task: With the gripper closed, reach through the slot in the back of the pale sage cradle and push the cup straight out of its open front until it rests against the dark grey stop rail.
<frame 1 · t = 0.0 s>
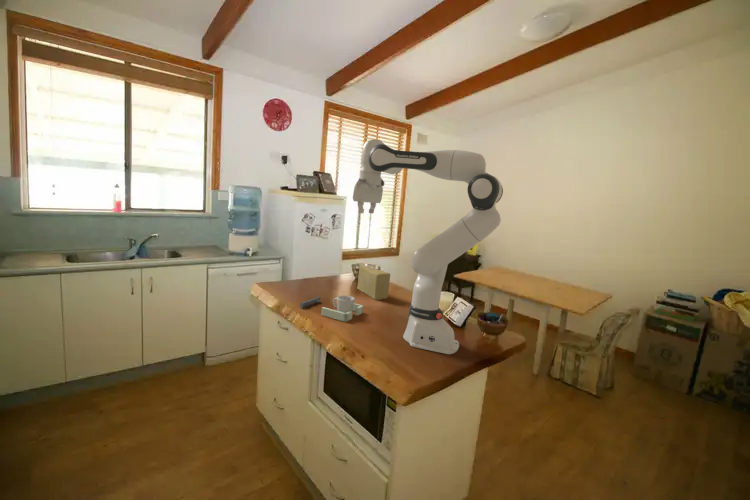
hand: (366, 213, 147), 48 cm above the countertop, fingers open, 8 cm apart
cradle: (341, 313, 162), on the countertop
khaki rectangular box: (369, 294, 199), on the countertop
stop rail: (310, 304, 170), on the countertop
cup: (341, 314, 162), on the countertop
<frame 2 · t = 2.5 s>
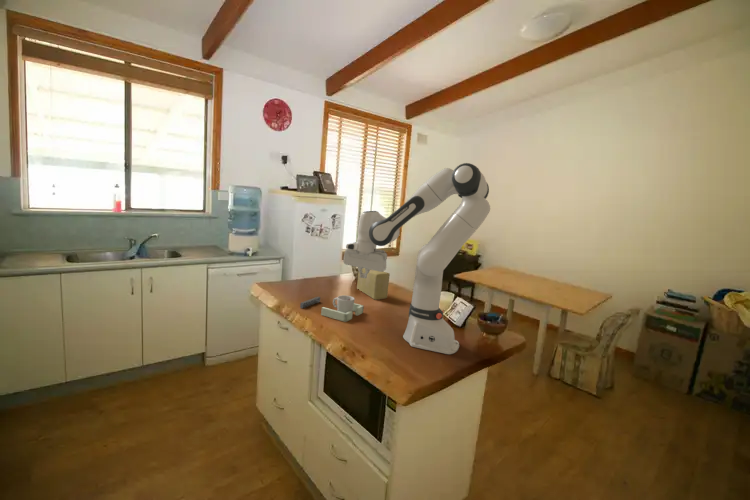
hand: (363, 277, 155), 19 cm above the countertop, fingers closed
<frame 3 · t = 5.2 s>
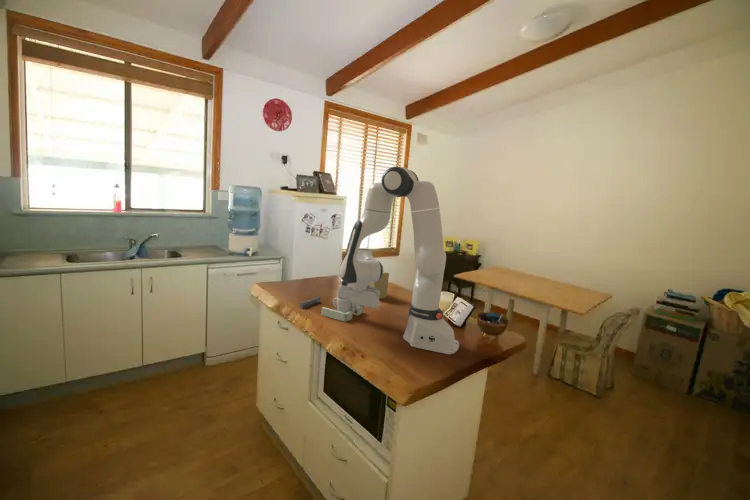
hand: (356, 313, 159), 2 cm above the countertop, fingers closed
cup: (341, 314, 162), on the countertop, touching gripper
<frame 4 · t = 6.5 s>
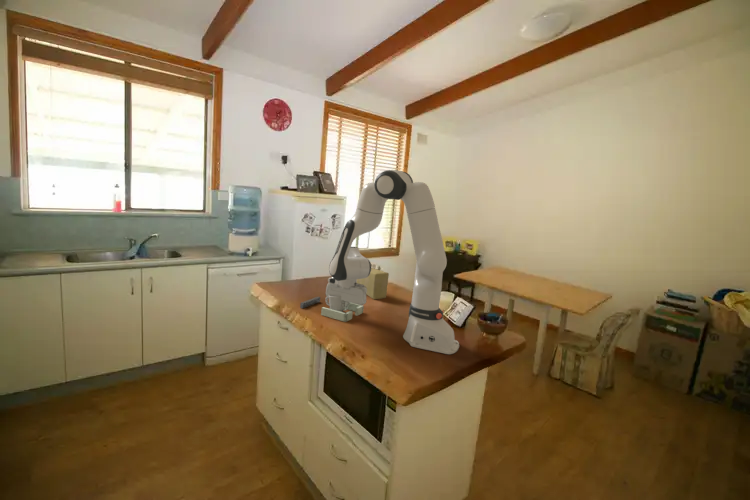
hand: (344, 310, 161), 2 cm above the countertop, fingers closed, pressing on cup
cup: (335, 311, 164), on the countertop, touching gripper
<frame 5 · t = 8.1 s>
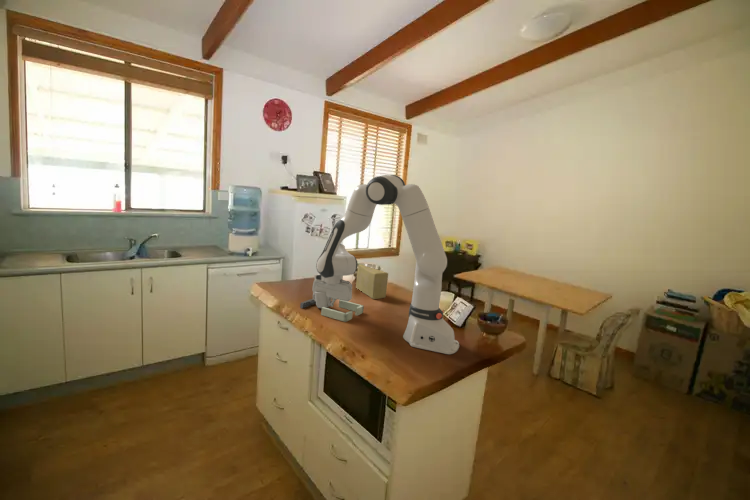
hand: (330, 306, 164), 2 cm above the countertop, fingers closed
cup: (321, 307, 167), on the countertop, touching gripper, stop rail
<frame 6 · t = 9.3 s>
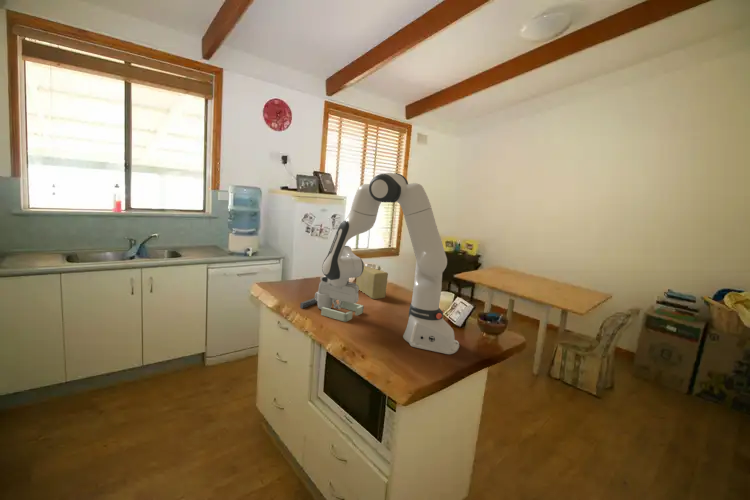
hand: (337, 308, 163), 2 cm above the countertop, fingers closed
cup: (322, 308, 167), on the countertop
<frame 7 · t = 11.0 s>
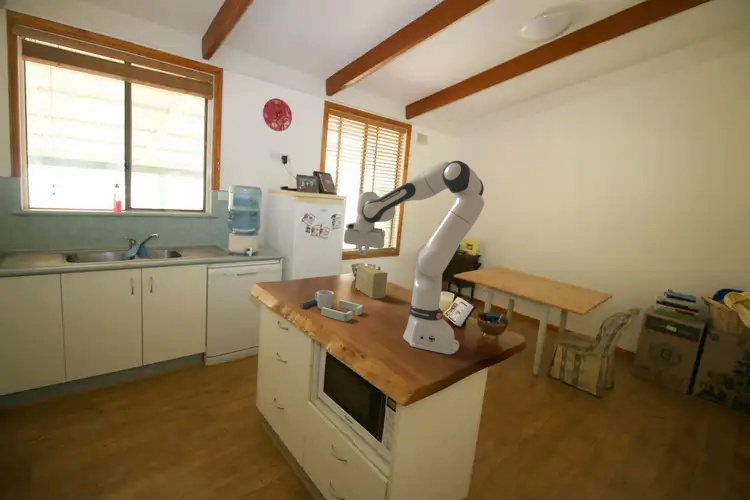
hand: (362, 255, 166), 27 cm above the countertop, fingers closed
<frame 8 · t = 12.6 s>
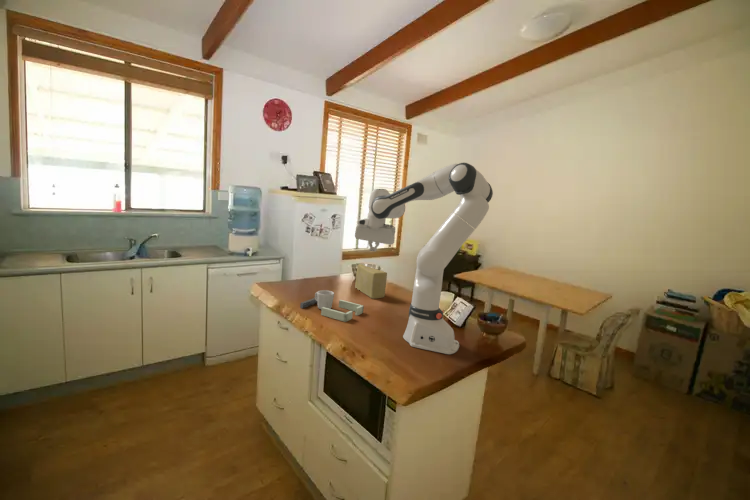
hand: (373, 250, 170), 29 cm above the countertop, fingers closed
at the end: cup inside the target area (0.9 cm from its centre), on the countertop; cup tilted 0°; cup moved 11.3 cm from its start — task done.
